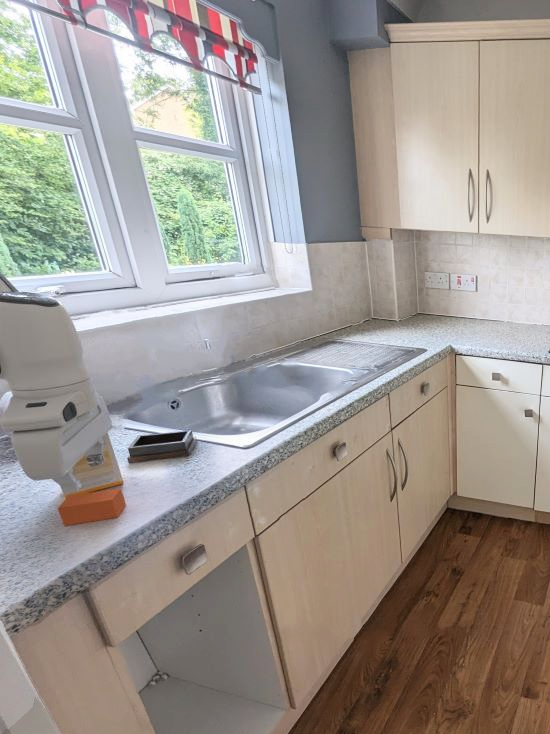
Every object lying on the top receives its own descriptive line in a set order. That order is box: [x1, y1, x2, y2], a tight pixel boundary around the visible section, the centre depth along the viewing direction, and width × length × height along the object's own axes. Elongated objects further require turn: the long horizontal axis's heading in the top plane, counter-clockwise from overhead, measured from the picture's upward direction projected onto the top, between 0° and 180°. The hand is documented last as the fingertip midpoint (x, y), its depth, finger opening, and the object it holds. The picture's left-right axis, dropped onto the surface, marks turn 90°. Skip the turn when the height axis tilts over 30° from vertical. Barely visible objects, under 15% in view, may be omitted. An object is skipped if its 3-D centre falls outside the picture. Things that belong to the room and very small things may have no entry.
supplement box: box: [62, 431, 124, 499], centre depth 83 cm, size 8×5×13 cm, turn 135°
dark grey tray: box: [127, 429, 198, 464], centre depth 99 cm, size 10×8×3 cm
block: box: [57, 487, 127, 527], centre depth 77 cm, size 7×4×4 cm, turn 114°
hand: (86, 477), depth 75 cm, fingers open, 8 cm apart
